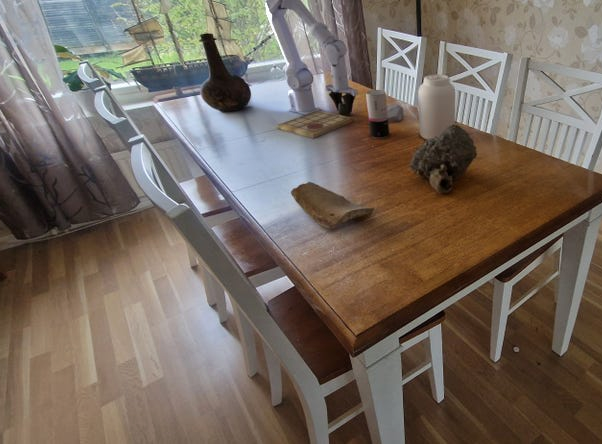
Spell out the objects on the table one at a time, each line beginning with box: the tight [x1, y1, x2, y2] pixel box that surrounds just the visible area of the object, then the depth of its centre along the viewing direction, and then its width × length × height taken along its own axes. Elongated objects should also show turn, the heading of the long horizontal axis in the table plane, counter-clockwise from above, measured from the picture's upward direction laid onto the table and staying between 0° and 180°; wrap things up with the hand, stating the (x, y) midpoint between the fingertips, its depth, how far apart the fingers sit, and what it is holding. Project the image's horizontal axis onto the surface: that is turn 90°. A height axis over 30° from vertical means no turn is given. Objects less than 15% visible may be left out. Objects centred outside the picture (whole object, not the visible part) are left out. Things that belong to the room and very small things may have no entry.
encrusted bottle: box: [408, 124, 478, 195], centre depth 100 cm, size 18×14×15 cm
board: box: [276, 109, 354, 139], centre depth 140 cm, size 18×20×2 cm
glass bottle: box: [198, 32, 252, 112], centre depth 148 cm, size 18×18×28 cm
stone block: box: [387, 104, 404, 123], centre depth 147 cm, size 12×5×10 cm
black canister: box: [337, 100, 352, 117], centre depth 149 cm, size 5×5×5 cm
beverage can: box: [365, 89, 390, 139], centre depth 128 cm, size 7×7×15 cm
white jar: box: [417, 73, 456, 141], centre depth 128 cm, size 12×12×20 cm
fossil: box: [290, 181, 375, 230], centre depth 90 cm, size 22×6×10 cm
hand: (344, 111), depth 150 cm, fingers closed on black canister, 4 cm apart
